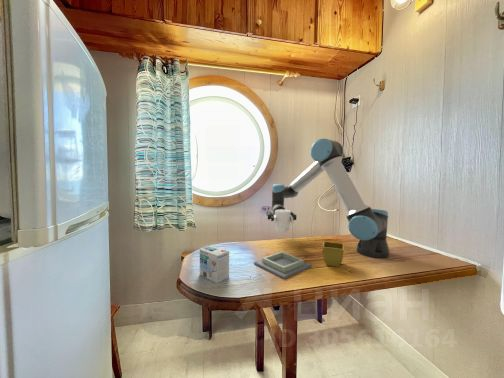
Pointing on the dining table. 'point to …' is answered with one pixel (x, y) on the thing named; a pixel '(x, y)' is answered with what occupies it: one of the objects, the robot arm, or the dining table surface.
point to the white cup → (282, 220)
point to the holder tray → (283, 264)
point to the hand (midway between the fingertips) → (283, 220)
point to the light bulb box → (214, 263)
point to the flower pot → (333, 253)
